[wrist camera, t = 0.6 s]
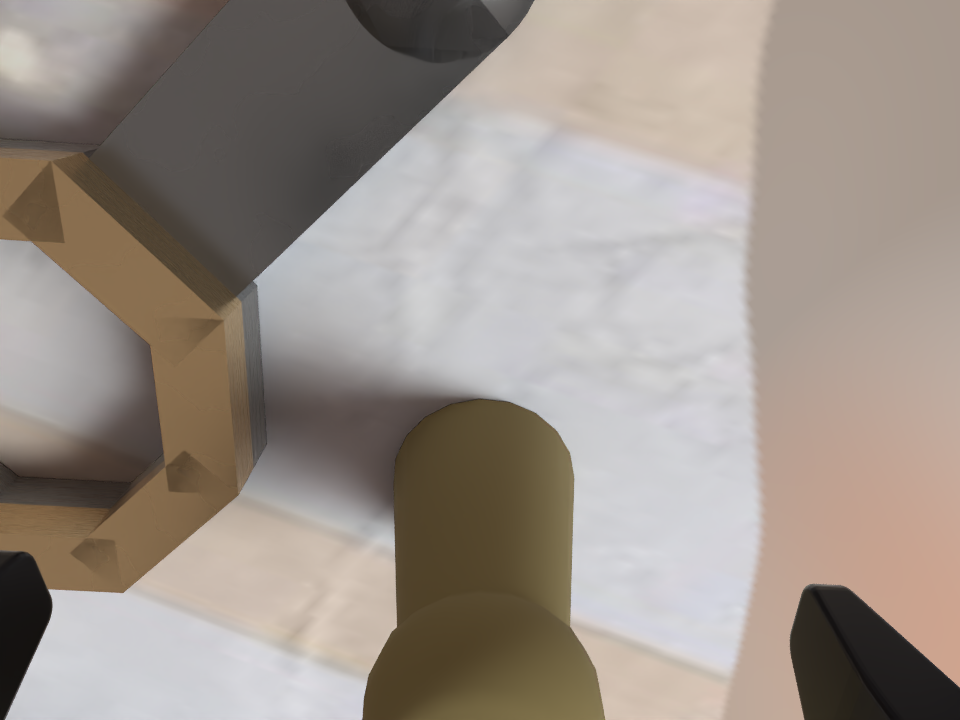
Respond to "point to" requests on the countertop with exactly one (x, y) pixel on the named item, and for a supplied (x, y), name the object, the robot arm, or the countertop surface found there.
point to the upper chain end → (176, 366)
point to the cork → (483, 575)
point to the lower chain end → (274, 143)
